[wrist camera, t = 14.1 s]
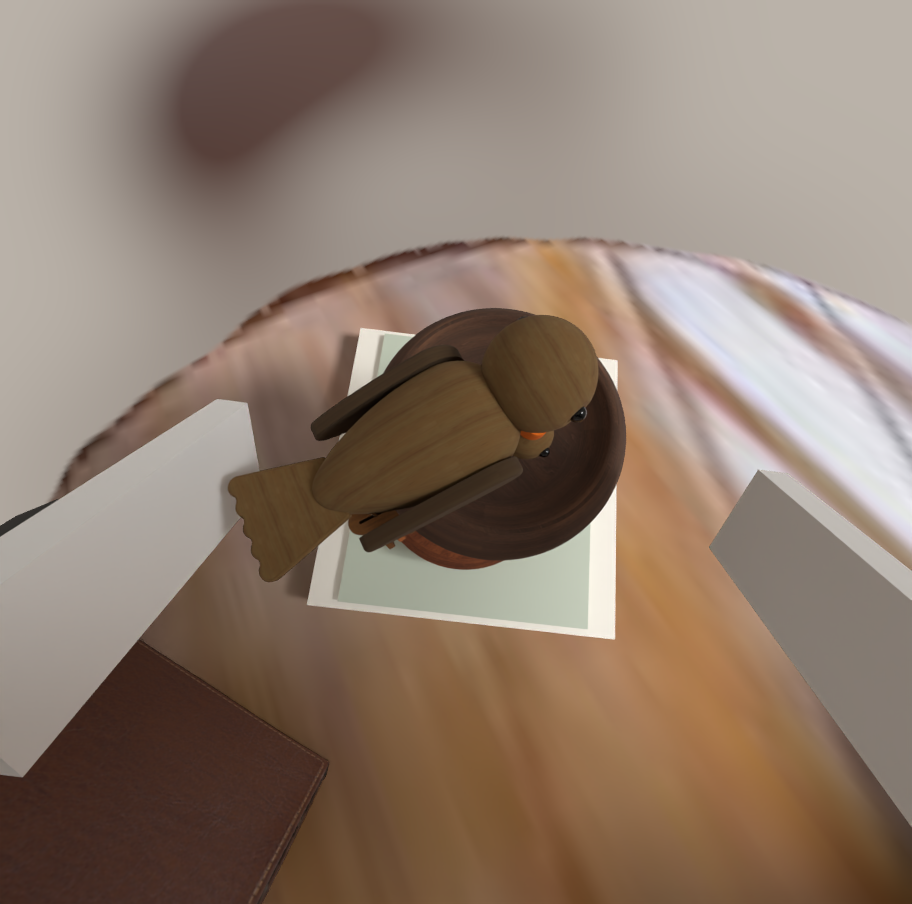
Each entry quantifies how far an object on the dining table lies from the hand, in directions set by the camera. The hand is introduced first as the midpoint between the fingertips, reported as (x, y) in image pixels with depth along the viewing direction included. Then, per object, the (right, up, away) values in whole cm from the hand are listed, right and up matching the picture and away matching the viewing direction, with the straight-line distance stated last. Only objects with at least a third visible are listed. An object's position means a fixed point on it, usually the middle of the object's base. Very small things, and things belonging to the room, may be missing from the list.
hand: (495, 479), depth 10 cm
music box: (0, -1, +16) cm, 16 cm away
